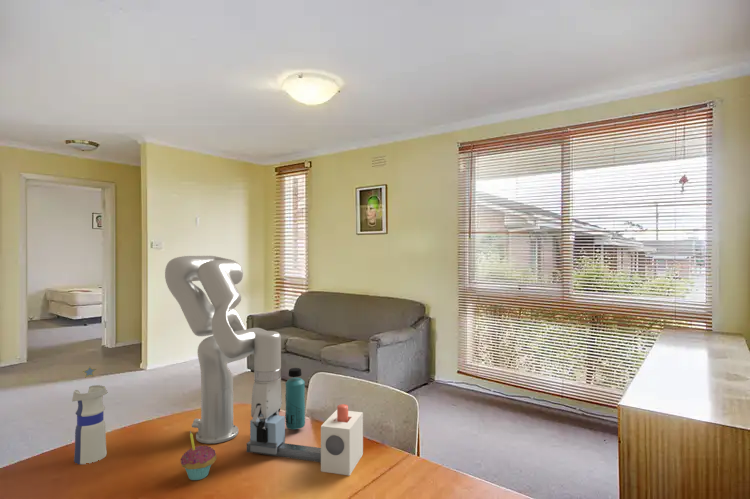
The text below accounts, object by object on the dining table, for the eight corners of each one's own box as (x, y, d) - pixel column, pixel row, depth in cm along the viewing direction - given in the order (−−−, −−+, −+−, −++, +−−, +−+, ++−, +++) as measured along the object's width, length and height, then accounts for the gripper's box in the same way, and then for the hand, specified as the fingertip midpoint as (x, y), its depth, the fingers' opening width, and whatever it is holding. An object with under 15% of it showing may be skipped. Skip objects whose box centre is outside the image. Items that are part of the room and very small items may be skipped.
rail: (246, 452, 124) (246, 443, 124) (252, 447, 127) (252, 439, 127) (327, 463, 118) (327, 454, 118) (331, 458, 120) (331, 449, 120)
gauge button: (335, 433, 117) (335, 407, 117) (339, 428, 120) (339, 403, 120) (346, 434, 116) (346, 408, 116) (349, 430, 119) (349, 404, 119)
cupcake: (181, 487, 106) (181, 438, 106) (179, 471, 113) (179, 426, 113) (218, 478, 110) (218, 432, 110) (214, 464, 117) (214, 420, 117)
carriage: (250, 451, 122) (250, 420, 122) (260, 442, 128) (260, 413, 128) (275, 454, 120) (275, 423, 120) (284, 445, 126) (284, 416, 126)
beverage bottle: (307, 426, 142) (307, 366, 142) (302, 434, 135) (302, 371, 135) (288, 425, 143) (288, 365, 143) (282, 434, 136) (282, 371, 136)
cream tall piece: (64, 461, 119) (64, 371, 119) (96, 448, 126) (96, 363, 126) (81, 468, 115) (81, 375, 115) (113, 454, 123) (113, 367, 123)
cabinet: (320, 472, 113) (320, 426, 113) (336, 450, 125) (336, 409, 125) (349, 476, 111) (349, 429, 111) (362, 454, 123) (362, 412, 123)
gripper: (270, 366, 133) (270, 424, 133) (239, 382, 117) (239, 449, 117) (292, 367, 131) (292, 426, 131) (264, 384, 115) (264, 452, 115)
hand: (267, 436), depth 124 cm, fingers closed on carriage, 5 cm apart
